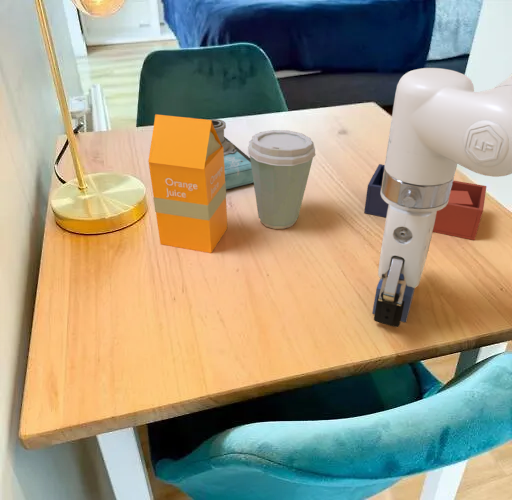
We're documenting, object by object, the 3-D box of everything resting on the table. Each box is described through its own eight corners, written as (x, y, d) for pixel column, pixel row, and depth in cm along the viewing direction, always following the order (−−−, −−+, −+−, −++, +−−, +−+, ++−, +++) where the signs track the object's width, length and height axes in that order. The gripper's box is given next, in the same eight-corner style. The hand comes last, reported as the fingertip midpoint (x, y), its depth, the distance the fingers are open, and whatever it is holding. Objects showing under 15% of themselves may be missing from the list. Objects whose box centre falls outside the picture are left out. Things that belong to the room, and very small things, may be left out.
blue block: (411, 302, 69) (417, 276, 66) (406, 322, 65) (411, 296, 63) (379, 293, 70) (383, 268, 68) (372, 313, 67) (376, 288, 64)
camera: (256, 137, 91) (205, 148, 88) (257, 184, 97) (209, 196, 93) (219, 109, 103) (173, 117, 100) (222, 152, 109) (178, 162, 105)
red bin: (478, 214, 87) (486, 185, 84) (474, 240, 81) (483, 210, 77) (426, 204, 90) (432, 176, 87) (418, 229, 83) (424, 199, 80)
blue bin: (423, 199, 91) (428, 172, 88) (415, 223, 85) (421, 194, 82) (375, 190, 94) (379, 163, 91) (364, 213, 88) (367, 185, 85)
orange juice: (179, 219, 87) (166, 105, 75) (228, 227, 84) (222, 110, 73) (159, 244, 80) (141, 124, 69) (211, 254, 78) (201, 131, 67)
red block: (461, 213, 86) (467, 191, 84) (466, 227, 83) (473, 204, 80) (435, 212, 87) (440, 189, 84) (438, 225, 83) (444, 202, 81)
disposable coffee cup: (257, 201, 92) (256, 121, 83) (316, 208, 89) (321, 126, 81) (241, 232, 83) (238, 147, 74) (305, 241, 81) (310, 154, 72)
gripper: (440, 231, 49) (410, 356, 60) (458, 159, 62) (431, 273, 73) (364, 215, 52) (348, 338, 62) (397, 150, 65) (379, 260, 75)
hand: (393, 302), depth 67 cm, fingers open, 7 cm apart
